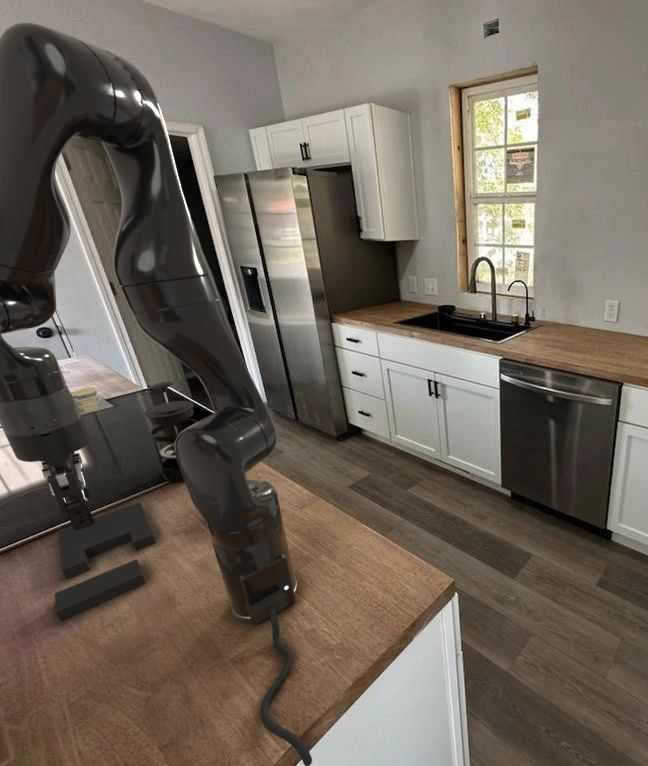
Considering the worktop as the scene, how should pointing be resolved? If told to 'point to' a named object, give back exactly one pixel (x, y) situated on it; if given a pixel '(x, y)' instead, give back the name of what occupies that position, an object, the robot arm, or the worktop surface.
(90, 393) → the stacked layers on plate
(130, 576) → the black pad
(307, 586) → the worktop surface
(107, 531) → the charcoal u-shaped block
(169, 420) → the french press
